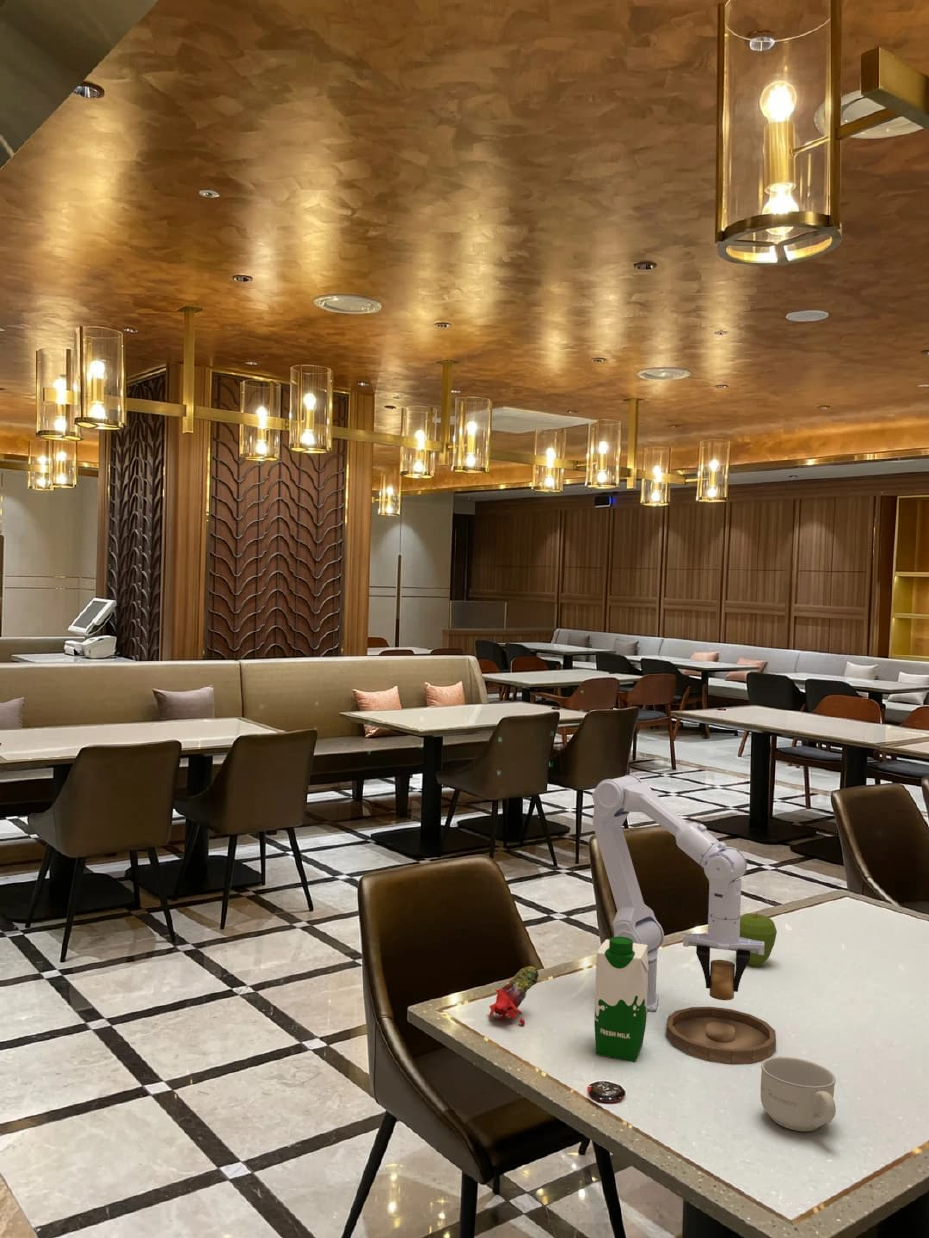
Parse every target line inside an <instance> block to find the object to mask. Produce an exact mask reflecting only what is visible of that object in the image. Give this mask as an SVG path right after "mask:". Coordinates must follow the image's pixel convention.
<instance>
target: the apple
mask: <svg viewBox="0 0 929 1238" xmlns="http://www.w3.org/2000/svg"><path fill="white" fill-rule="evenodd" d="M777 933H778V932H777V928H776V925H775V922H774V920H773V919H771V918H770V917H769V916H767V915H764V914H758V913H757V912H756V913H745V914H743V915H741V916H740V936H739V937H742V938H746V939H751V940H756V941H763V942H764V955H759V954H758V953H750V960H749V963H748V964H747V965H749V966H752V967H756V968H758V967H761V966H762V965H763V964H765V962H766V961H767V960H768V959H769V958H770V955H771V953H772V950H773V948H774V946H775V943H776V938H777Z"/></svg>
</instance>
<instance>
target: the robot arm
mask: <svg viewBox="0 0 929 1238" xmlns="http://www.w3.org/2000/svg"><path fill="white" fill-rule="evenodd" d="M591 797H592V798H591V799H592V801H593V804H594V805H593V814H592V815H593V816H592V826H593V830H594V834H595V836H596V841H597V843H598V847H599V850H600V854H601V855H600V856H601V859H602V861H603V864H604V868H605V872H606V875H607V878H608V882H609V886H610V889H611V894H612V896H613V897H612V898H613V900H614V903H615V908H616V911H617V912H616V914H615V916H614V919H613V922H612V926H613V931H614V933H613V934H614V936H613V937H627V938H630V939H631V940H632V941H633V943H637V944H644V945H648V948H647V958H648V968H649V970H648V990H647V1011H650V1012H651V1011H652V1012H653V1011H654V1012H656V1011H657V1008H658V1003H659V998H660V994H658V993H657V975H658V974H657V972H658V970H657V969H658V967H657V966H658V951H659V949H660V947H662V945H663V943H664V940H665V932H664V929H663V928H662V925H661V924H660V922H658V920H657V918H656V916H655V913H654V910H653V909H651V907H649V906H647V905H646V904H645V902H644V898H643V895H642V891H641V888H640V885H639V882H638V881H639V880H638V877H637V875H636V871H635V867H634V864H633V861H632V857H631V853H630V850H629V847H628V843H627V839H626V837H625V834H624V833H625V832H624V830H623V824H624V823H625V821H626V820H627V818H628V816H629V814H630V813H643V814H645V815H646V816H647V817H649V818H650V819H651V820H652V821H654V822H655V823H657V824H658V825H659V826H661V827H662V828H663V829H665V830H666V831H667V832H669V833H670V834H671V835H673V836H674V837H675V842H676V845H677V847H678V848H679V849H680V850H681V851H683V852H684V853H685V854H686V855H687V856H689V857H690V858H691V859H692V860H693V861H695V862H696V863H697V864H698V865H700V866H701V868H702V869H703V871H704V875H705V877H706V878H707V879H708V883H709V887H708V888H709V889H708V892H709V893H708V915H707V917H708V918H707V923H708V924H707V933H688V932H684V933H683V936H682V937H683V938H682V940H683V941H682V947H685V948H689V947H696V949H695V953H696V956H697V959H698V961H699V964H700V967H701V969H702V972H703V977H704V981H705V988H706V989H709V990H710V964H711V957H710V956H711V949H715V950H725V951H731V952H732V951H733V952H735V980H734V993H738V992H739V987H740V983H741V979H742V977H743V974H744V972H745V969H746V968H747V966H748V965H749V964H748V963H749V960H750V953H758V954H759V955H764V942H763V941H756V940H751V939H746V938H742V937H739V936H740V917H741V905H742V904H741V903H742V902H741V901H742V900H741V899H742V898H741V897H742V877H743V876H745V874H746V872H747V868H748V864H747V859H746V857H745V855H744V854H743V853H742V852H741V851H740V849H739V848H736V847H732V846H731V847H727V844H726V843H725V842H724V841H719V840H718V839H717V838H716V837H714V836H713V835H712V834H711V833H710V832H708V831H707V826H706V825H704V824H702V823H700V824H698V823H697V822H686V820H685V819H683V818H682V817H681V816H680V815H679V814H678V813H677V812H676V811H674V810H673V809H672V808H671V807H670V806H669V805H667V803H665V802H664V800H663V799H662V798H660V797H659V795H657V794H656V793H654V791H653V790H652V789H651V787H650V785H649V784H648V783H646V782H644V781H642V780H641V778H640V777H638V776H636V775H634V774H626V775H624V776H619V777H617V778H612V779H611V778H608V779H603V780H602V781H600V782H599V783H598V784H597V786H596V787H595V789H594V791H593V792H592V794H591Z"/></svg>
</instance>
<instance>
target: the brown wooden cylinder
mask: <svg viewBox="0 0 929 1238" xmlns="http://www.w3.org/2000/svg"><path fill="white" fill-rule="evenodd" d="M735 971H736V963H734V962H732V961H729V960H727V959H726V960H725V959H713V960H710V989H709V996H710V997H711V998H713V999H715V1000H719V1001H731V1000H734V998H735V992H734V980H735Z"/></svg>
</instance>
